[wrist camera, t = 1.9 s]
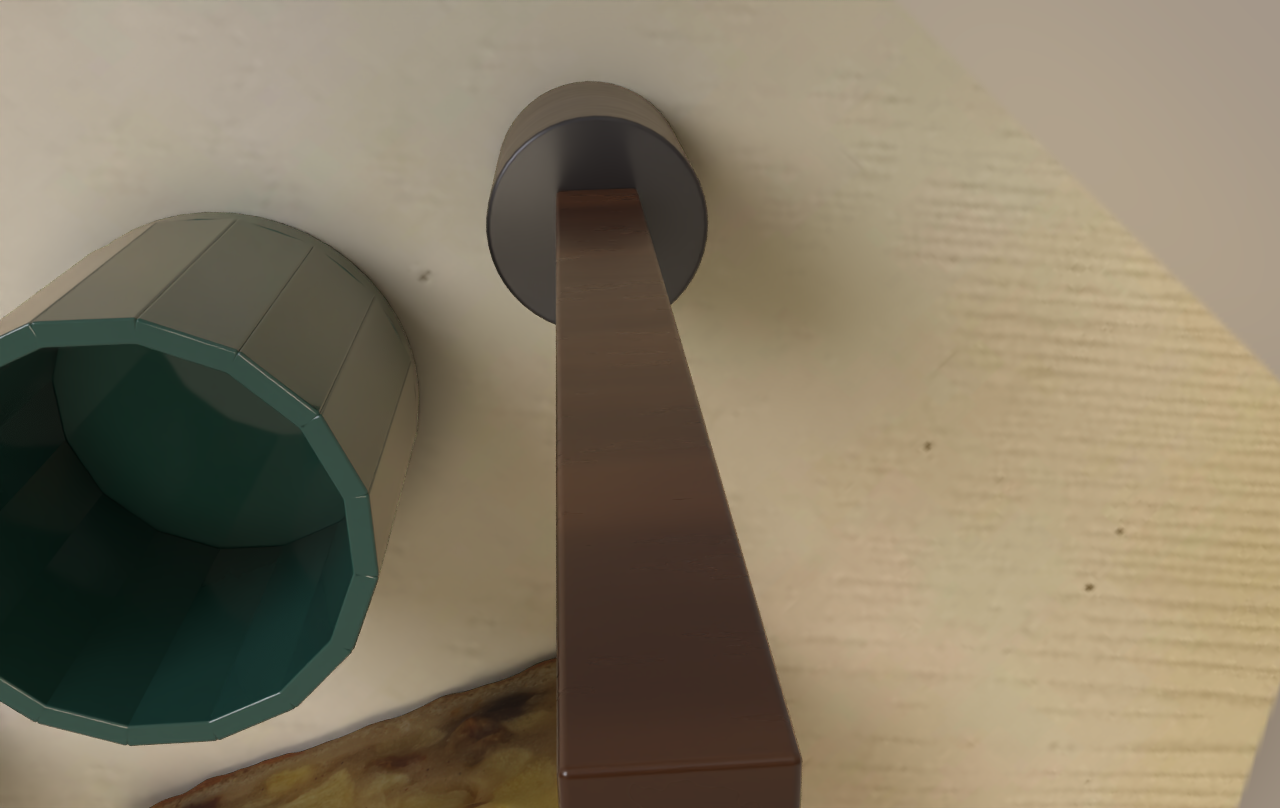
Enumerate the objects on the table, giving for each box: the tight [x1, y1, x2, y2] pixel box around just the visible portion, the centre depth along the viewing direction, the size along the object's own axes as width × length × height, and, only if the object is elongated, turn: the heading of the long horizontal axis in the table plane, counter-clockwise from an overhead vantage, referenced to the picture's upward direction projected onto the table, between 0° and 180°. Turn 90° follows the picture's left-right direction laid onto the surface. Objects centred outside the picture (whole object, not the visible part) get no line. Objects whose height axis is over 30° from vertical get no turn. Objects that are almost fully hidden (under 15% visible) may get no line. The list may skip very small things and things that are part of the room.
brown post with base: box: [486, 81, 802, 808], centre depth 18 cm, size 4×4×22 cm
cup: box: [0, 212, 419, 746], centre depth 26 cm, size 9×9×8 cm
